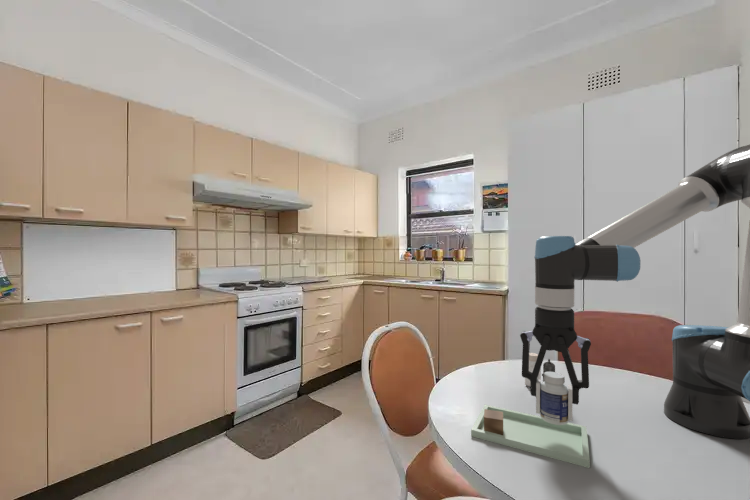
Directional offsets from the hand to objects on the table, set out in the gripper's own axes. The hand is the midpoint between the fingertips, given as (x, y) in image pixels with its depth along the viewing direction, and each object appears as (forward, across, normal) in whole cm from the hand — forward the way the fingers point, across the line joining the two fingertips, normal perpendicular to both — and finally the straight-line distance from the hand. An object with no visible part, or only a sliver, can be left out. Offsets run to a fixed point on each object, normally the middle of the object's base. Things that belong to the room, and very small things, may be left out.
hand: (554, 414), depth 73 cm
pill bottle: (+1, 0, 0) cm, 1 cm away
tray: (+6, +5, +1) cm, 8 cm away
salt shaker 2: (+6, +2, -20) cm, 21 cm away
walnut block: (+5, +12, +4) cm, 14 cm away
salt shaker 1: (+6, +7, -31) cm, 32 cm away
